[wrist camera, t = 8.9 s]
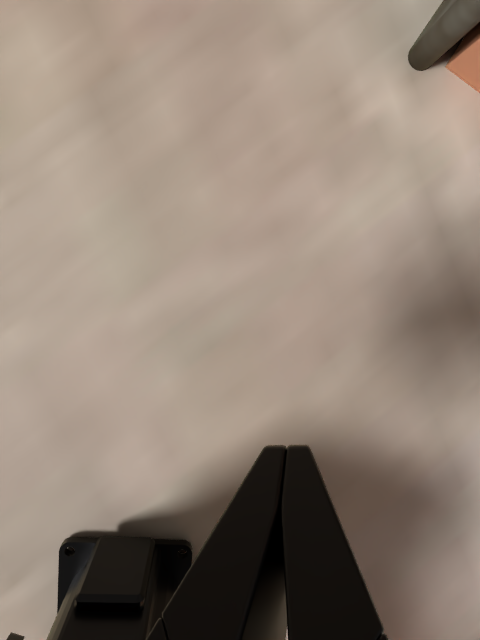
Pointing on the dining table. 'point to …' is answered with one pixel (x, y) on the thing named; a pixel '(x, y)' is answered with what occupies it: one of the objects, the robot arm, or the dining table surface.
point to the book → (468, 59)
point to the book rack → (444, 31)
